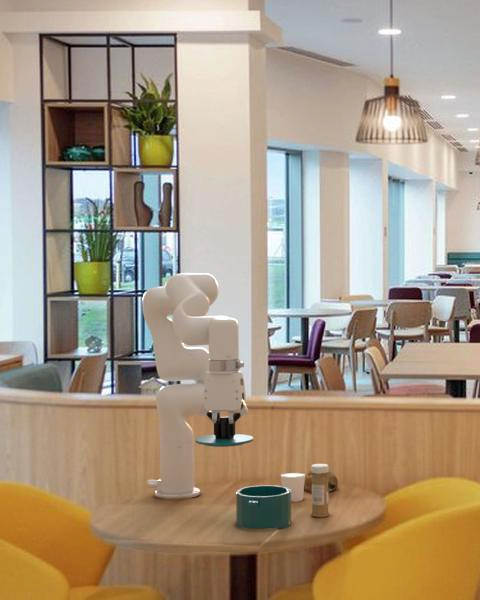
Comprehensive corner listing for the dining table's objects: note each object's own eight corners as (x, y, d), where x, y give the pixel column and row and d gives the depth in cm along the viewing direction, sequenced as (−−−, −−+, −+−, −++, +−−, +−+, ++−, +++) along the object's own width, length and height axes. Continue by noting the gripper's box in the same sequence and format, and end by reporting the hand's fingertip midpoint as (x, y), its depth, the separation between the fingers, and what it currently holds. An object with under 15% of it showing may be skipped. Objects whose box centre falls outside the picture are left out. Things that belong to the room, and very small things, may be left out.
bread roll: (318, 506, 306) (327, 482, 303) (292, 487, 310) (301, 463, 308) (338, 499, 314) (347, 476, 312) (312, 481, 319) (321, 458, 317)
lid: (186, 447, 266) (186, 420, 266) (207, 437, 280) (207, 412, 280) (242, 448, 264) (242, 421, 263) (260, 439, 278) (260, 413, 278)
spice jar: (332, 515, 280) (332, 464, 279) (321, 518, 276) (321, 467, 276) (319, 512, 283) (318, 462, 282) (307, 516, 279) (307, 465, 278)
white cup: (307, 496, 301) (307, 472, 301) (302, 502, 294) (302, 477, 294) (283, 496, 302) (283, 471, 302) (278, 502, 295) (278, 476, 295)
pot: (225, 532, 262) (225, 498, 262) (249, 514, 281) (249, 482, 281) (279, 534, 260) (278, 500, 260) (299, 516, 279) (299, 484, 278)
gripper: (258, 365, 274) (259, 436, 274) (199, 364, 276) (200, 435, 277) (249, 368, 266) (250, 441, 267) (188, 367, 269) (189, 440, 270)
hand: (224, 437), depth 272 cm, fingers closed on lid, 2 cm apart
